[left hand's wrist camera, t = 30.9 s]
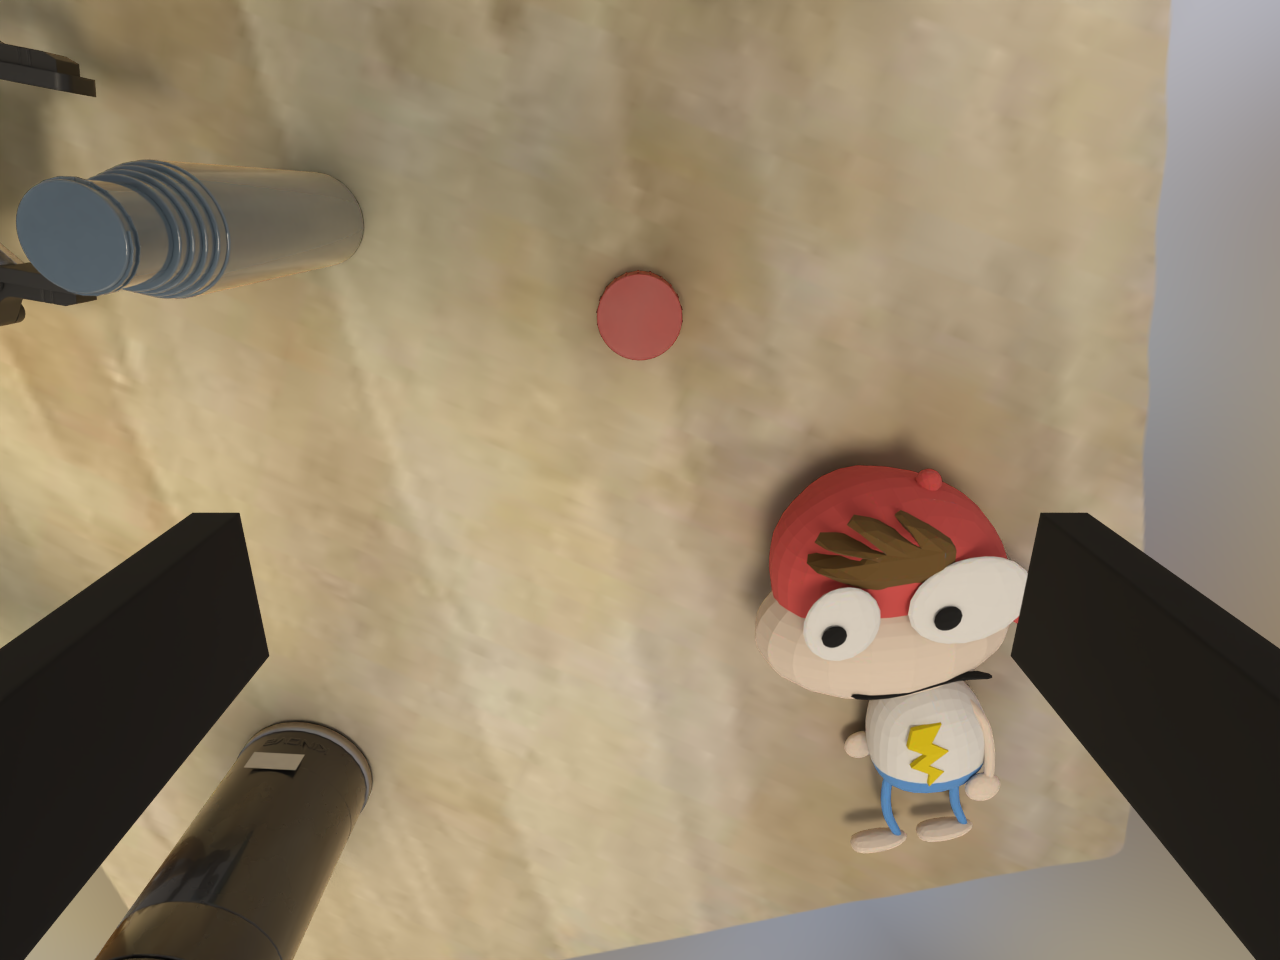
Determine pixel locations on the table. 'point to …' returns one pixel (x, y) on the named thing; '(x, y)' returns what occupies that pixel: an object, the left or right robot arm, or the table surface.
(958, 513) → the toy
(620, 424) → the table surface
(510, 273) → the table surface
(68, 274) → the bottle
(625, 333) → the cap
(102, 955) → the right robot arm
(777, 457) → the table surface
